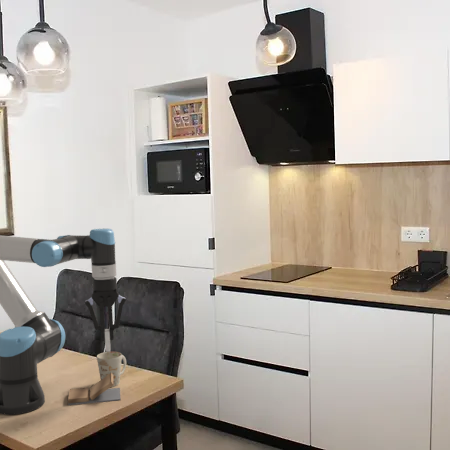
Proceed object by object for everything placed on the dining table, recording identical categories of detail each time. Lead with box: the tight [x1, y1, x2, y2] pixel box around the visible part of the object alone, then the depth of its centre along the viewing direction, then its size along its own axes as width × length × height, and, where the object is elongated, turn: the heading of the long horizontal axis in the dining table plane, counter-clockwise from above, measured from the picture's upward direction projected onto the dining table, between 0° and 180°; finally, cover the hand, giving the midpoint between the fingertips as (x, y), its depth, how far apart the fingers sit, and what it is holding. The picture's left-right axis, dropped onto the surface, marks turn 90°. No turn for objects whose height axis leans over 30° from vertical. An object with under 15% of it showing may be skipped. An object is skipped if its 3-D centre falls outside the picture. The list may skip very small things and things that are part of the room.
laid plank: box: [67, 387, 91, 404], centre depth 185 cm, size 6×9×1 cm
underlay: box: [67, 387, 121, 406], centre depth 186 cm, size 16×10×1 cm, turn 101°
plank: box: [89, 373, 114, 400], centre depth 186 cm, size 8×9×1 cm
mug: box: [96, 351, 127, 388], centre depth 199 cm, size 8×13×10 cm, turn 152°
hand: (108, 350), depth 186 cm, fingers closed
